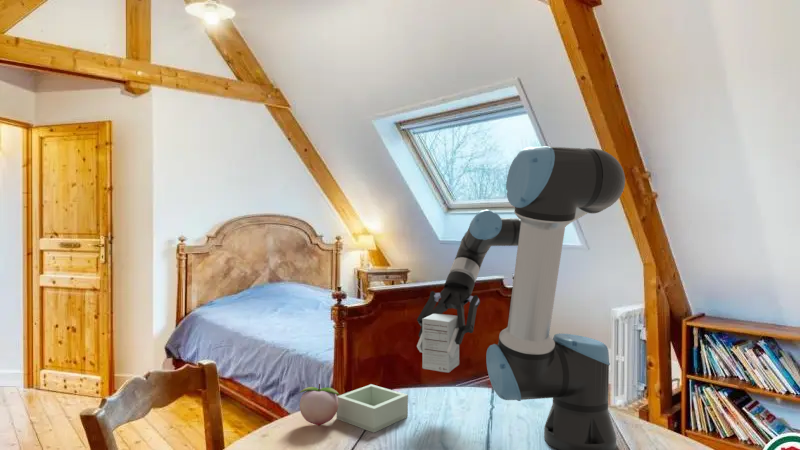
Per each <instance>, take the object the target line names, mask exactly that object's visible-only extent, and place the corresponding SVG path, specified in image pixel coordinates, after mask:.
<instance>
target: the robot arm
mask: <svg viewBox="0 0 800 450" xmlns="http://www.w3.org/2000/svg"><path fill="white" fill-rule="evenodd" d="M505 185H506V186H505V189H506V198H507V200H508V203H509V204H510V205H511V206H513V207H514V214H515V216H516V217H501V216H500V215H499V214H498V213H497V212H495V211H492V210H490V209H484V210H483V209H482V210H480V211H479V212H477V213H476V214H475V216H473V218H472V220H471V222H470V224H469V227H468V228H467V231H466V232H465V233H464V234H463V236H462V238H461V241H460V244H459V247H458V249H457V252H456V255H455V257H454V259H453V263H452V265H451V267H450V269H449V272H448V275H447V278H446V280H445V283H444V285H443V286H444V287H443V289H442V290H441V291H440V292H435V291H434V290H432V291H430V294H429V298H428V300H427V302H426V303H425V305H424V306H423V308H422V310H421V312H420V314H419V315H418V317H417V319H416V321H417V323H418V324H419V326H420V329H419V332H418V337H419V339H418V342H417V344H416V348H417V350H418V351H419V353H422V319H423V318H425V317H427V316H429V315H431V314H444V313H445V312H447V311H448V309H454V310H456V313H457V314H456V316H458V328H459V330H458V329H456V328H455V330H454V333H453V335H452V338H451V341H450V344H449V347H448V349H447V352H448V354H449V356H450V357H452V358H453V356H454V353H455V351H456V348H457V345H458V344H459V346H460V345H462V342H463V339H464V336H465V334H466V333H469V334H473V333H474V329H475V323H476V316H477V310H478V307H479V305H480V304H481V300H480V298H479V296H478V295H477V294H476V295H472V294H473V290H474V287H475V283H476V282H477V279H478V275H479V273H480V271H481V267H482V264H483V261H484V259H485V257H486V255H487V253H488V252H489V250H490V249H491V247H500V246H502V247H507V246H508V247H517V251H516V258H515V264H514V266H515V268H514V273H513V283H512V290H511V297H510V298H511V299H510V304H509V305H510V306H509V315H508V322H507V326H506V328H504V329H502V330H501V331H500V332H499V336H498V342H497V344H496V343H493V344H490V345H488V347H487V350H486V354H485V356H486V359H485V360H486V369H487V374H488V378H489V382H490V384H491V386H492V388H493V390H494V392H495V394H496V395H497V396H498V398H500V399H502V400H504V401H518V402H521V401H525V400H527V401H528V400H538V399H539V400H540V399H552V404H551V407H550V410H549V413H548V416H547V419H546V421H545V424H544V428H543V430H544V431H543V433H544V434H543V435H544V436H543V437H544V438H543V439H544V441H545V442H546V443H547V444H548V445H549V446H551V447H552V448H554V449H556V450H616V449H617V434H616V431H615V428H614V424H613V421H612V418H611V415H610V412H609V388H610V387H609V384H610V383H609V379H610V377H609V376H610V373H609V372H610V365H611V362H610V355H609V348H608V346H607V345H606V344H605V343H604V342H603V341H600V340H597V339H595V338H591V337H587V336H582V335H579V334H578V335H577V334H571V333H556V334H554V335H553V338H552V336H551V335H550V331H551V323H552V316H553V309H554V304H555V297H556V291H557V290H556V289H557V285H558V278H559V271H560V270H559V269H560V264H561V258H562V257H561V256H562V253H563V252H562V251H563V243H564V239H565V237H564V236H565V230H566V227H567V226H569V225H570V224H572V223H573V222H575V221H577V220H578V219H579V218H582V217H584V216H585V215H587V214H591V215H592V214H599V213H601V212H603V211H605V210H606V209H608V208H609V207H611V206H613V205H614V204H616V203H617V202H618V200H619V199H620V197H622V194H623V192H624V189H625V187H626V186H625V185H626V175H625V172H624V169H623V166H622V164H621V163H620V162H619V160H618V159H617V158H616V157H614V156H613V155H612V154H610V153H609V152H607V151H605V150H602V149H599V148H590V147H589V148H587V147H586V148H582V147H579V148H578V147H565V146H564V147H562V146H561V147H560V146H549V145H547V146H546V145H543V146H528V147H526V148H523V149H522V150H521V151H519V152H518V153H517V155H516V156H515V157H514V158H513V160H512V162H511V164H510V167H509V168H508V172H507V177H506V182H505ZM468 303H469V307H468V313H467V319H466V318H465V305H466V304H468ZM465 319H466V320H465Z"/></svg>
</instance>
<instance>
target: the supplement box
mask: <svg viewBox="0 0 800 450" xmlns="http://www.w3.org/2000/svg"><path fill="white" fill-rule="evenodd" d="M455 328H456V329H458V330H459V328H458V316H457V315H453V314H444V313H442V314H431V315H429V316H427V317H425V318H423V319H422V352H421V353H422V355H421V356H422V367H421V368H422V369H423V370H430V371H436V372H440V373H450V372H451V371H453V370H454V369H455V368H457V367H458V366H460V345H459V344H458V345H457V348H456V351H455V353H454V356H453V358H452V357H450V356H449V354H448V352H447V349H448V347H449V344H450V341H451V338H452V335H453V333H454V330H455Z"/></svg>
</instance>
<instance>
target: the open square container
mask: <svg viewBox="0 0 800 450" xmlns="http://www.w3.org/2000/svg"><path fill="white" fill-rule="evenodd" d="M337 398H338V410H337V412H336V420H338V421H341V422H344V423H346V424H350V425H352V426H356V427H358V428H360V429H362V430H366V431H369V432H371V433H376V432H379V431H380V430H383V429H385V428H387V427H389V426H391V425H394V424H395V423H397V422H400V421H403V420H404V419H406V418H409V417H408V416H409V410H408V409H409V407H408V406H409V404H408V403H409V394H406V393H403V392H399V391H395V390H393V389H390V388H386V387H382V386H378V385H375V384H372V383H370V384H368V385H365V386H363V387H359V388H356V389H354V390H351V391H347V392H345V393H343V394H339V395H337Z"/></svg>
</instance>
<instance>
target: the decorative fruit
mask: <svg viewBox="0 0 800 450" xmlns="http://www.w3.org/2000/svg"><path fill="white" fill-rule="evenodd" d="M303 392H304V393H303ZM301 393H303V394H302V395H301V397H300V400H299V411H300V414H301V416H302V417H303V419H305V421H306V422H308V423H310V424H313V425H314V426H315V425H316V426H317V427H320V426H322V425H325V424H326V423H329V422H331V420H332V419H333V418H334V417H335V416H336V415H337V410H338V398H337V396H339V395H340V393H339V392H338V391H337V390H336V389H334V388H333V387H321V383H318V387H315V386H308V387H305V388H303V389H302V390H300V391H299V394H301Z"/></svg>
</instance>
